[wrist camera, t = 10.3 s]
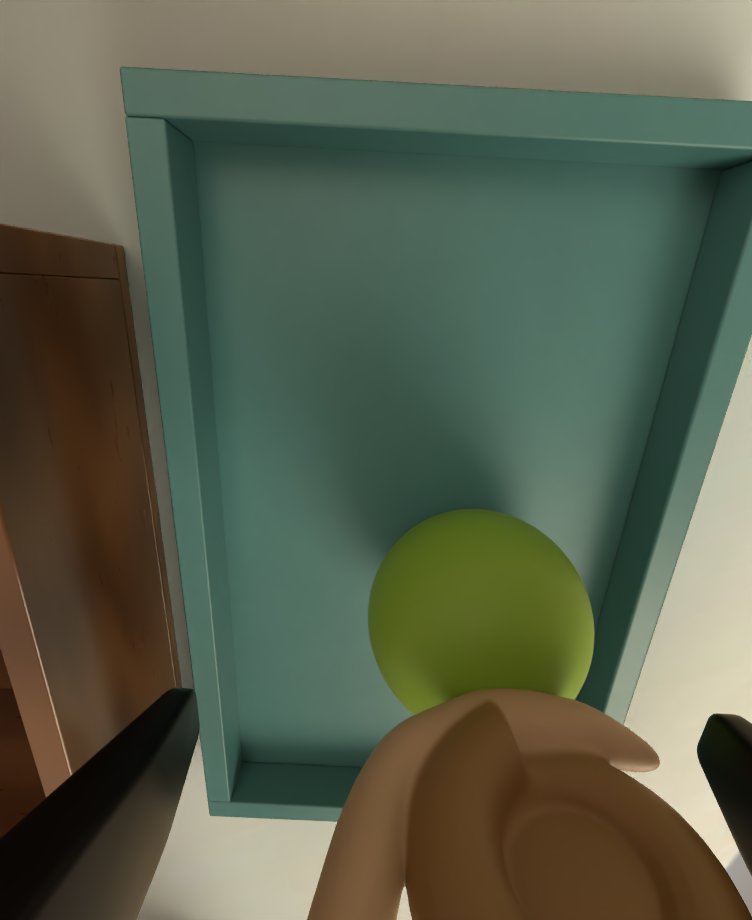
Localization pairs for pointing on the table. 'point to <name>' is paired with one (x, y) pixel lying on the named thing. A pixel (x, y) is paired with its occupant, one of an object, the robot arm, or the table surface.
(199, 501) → the tray
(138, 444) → the wooden box
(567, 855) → the snail figurine
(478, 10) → the table surface
